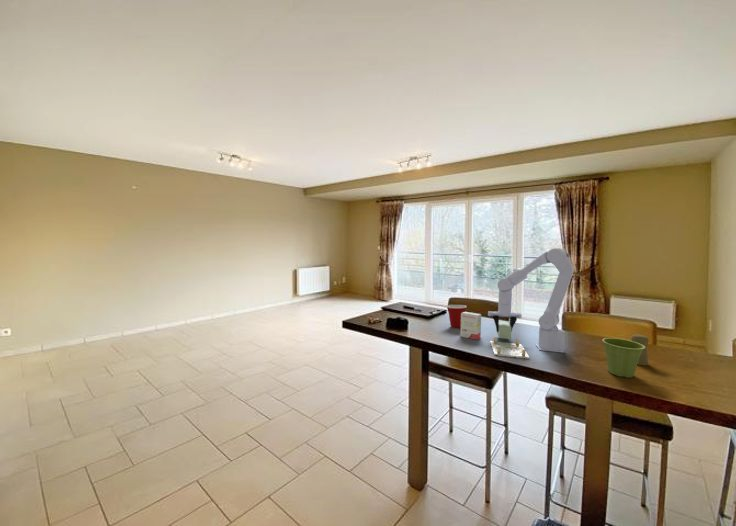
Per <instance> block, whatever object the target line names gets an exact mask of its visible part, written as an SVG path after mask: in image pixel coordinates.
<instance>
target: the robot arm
mask: <svg viewBox="0 0 736 526" xmlns="http://www.w3.org/2000/svg"><path fill="white" fill-rule="evenodd" d="M545 264H552V265H553V266H554V267H555V268H556V269H557V271H558V276H557V277H556V282H555V283H554V285H553V286H554V287H553V289H552V293H551V295H550V298H549V301H548V302H547V303H548V304H547V306H546V308H545V310H544V312H543V314H542V315H541V316H540V317H539V318H538V325H539V327H538V329H539V330H538V343H535V346H536V347H537V348H538V350H539V351H542V352H543V351H544V352H552V353H565V339H566V338H565V337H566V336H565V332H564V330H563V329H559V327H558V324H559V322H560V316H559V315H560V313H561V308H562V305H563V301H564V299H565V297H566V294H567V291H568V289H569V285H570V283H571V280H572V277H573V274H574V273H575V272H574V271H575V269H574V265H573V263H572V259H571V255H570V254H569V253H568V251H566V250H565V249H564V248H561V247H560V248H559V247H558V248H556V247H553V248H551V249H549V250H548V251H546V252H544V253H542V254H540V255H539V256H537V257H536V258H535V259H533V260H532V261H531V262H529V263H528V264H527V265H526V266H524V267H523V268H520V267H519V268H514V269H513V270H512V272H511V273H509V274H508V275H504V278H500V279H499V280H498V281H497V288H498V303H497V304H498V305H497V306H498V307H497V308H498V309H497V311H489V310H488V311H487V317H492V318H493V319H492V320H494V323H495V324H494V325H495V330H496V333H497V332H498V331H499V327H498V325H499V321H500V318H499V317H501V318H509V324H510V326H511V333H512V332H513V328H514V326H515V324H516V323H517V320H518V319H522V313H521V312H520V313H518V312H517V313H516V312H512V305H513V303H512V301H513V300H512V299H513V297H512V296H513V294H512V293H513V289H514V287H515V286H518V284H520V283H522V282H523V281H525V280H526V279H528V274H529V273H531V272H533V271H535V270H536V269H538V268H539V267H541V266H542V265H545Z"/></svg>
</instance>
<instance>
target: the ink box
mask: <svg viewBox="0 0 736 526" xmlns="http://www.w3.org/2000/svg"><path fill="white" fill-rule="evenodd" d="M481 330H482V313H475V312H468V311H465V312H463V313H461V328H460V337H461V338H467V339H471V340H475V341H476V340H477V341H478V340H479V339H481V335H482V333H481V332H482V331H481Z"/></svg>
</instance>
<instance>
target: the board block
mask: <svg viewBox="0 0 736 526" xmlns="http://www.w3.org/2000/svg"><path fill="white" fill-rule="evenodd" d="M498 327H499V331H498V332H497V331H496V333H497V335H498V338H499V339H508V340H509V339H512V332H511V326H510V321H500V320H499V325H498Z"/></svg>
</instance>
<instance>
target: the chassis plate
mask: <svg viewBox="0 0 736 526" xmlns="http://www.w3.org/2000/svg"><path fill="white" fill-rule="evenodd" d="M489 344H490V347H491V346H492V347H491V350H492V349H493V350H492V352H494V353H493V356H495V355H498V356H497V357H505V356H506V357H507V358H514V357H516V359H524V358H525V360H530V356H529V354H528V353H527V351H526V349H525V348H524V346H523V345H522V344H521V343H520V339H515V343H511V342H503V341H502V342H501V341H497V337H496V336H495V337H493V341H492V340H490V343H489Z"/></svg>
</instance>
